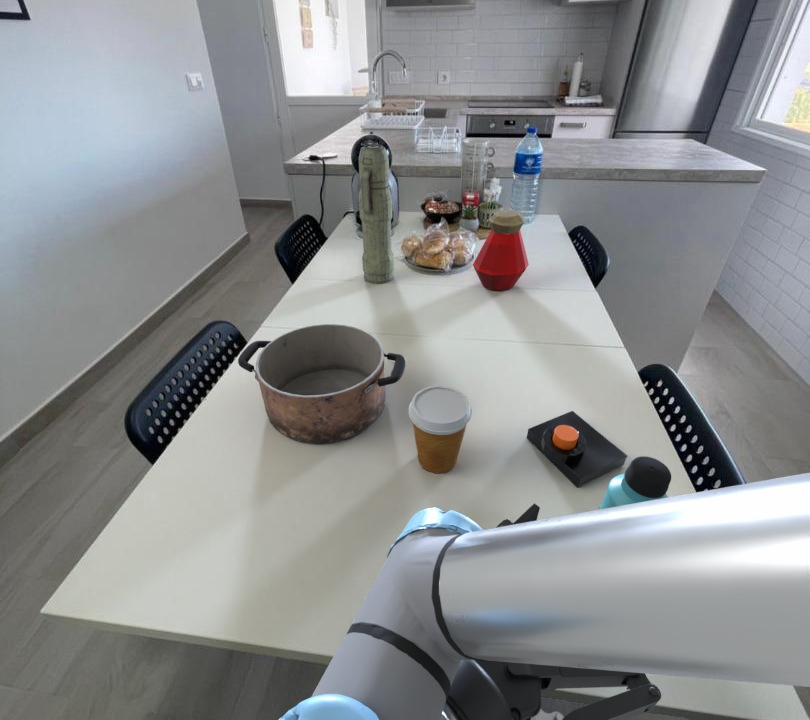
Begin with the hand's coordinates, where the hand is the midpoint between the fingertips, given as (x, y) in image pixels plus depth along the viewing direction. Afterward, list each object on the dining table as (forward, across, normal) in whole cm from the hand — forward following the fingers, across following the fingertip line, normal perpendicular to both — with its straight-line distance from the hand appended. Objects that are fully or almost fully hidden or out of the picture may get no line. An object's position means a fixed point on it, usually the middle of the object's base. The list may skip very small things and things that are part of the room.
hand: (590, 554), depth 46 cm
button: (+21, -14, -9) cm, 27 cm away
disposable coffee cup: (+6, -28, -13) cm, 31 cm away
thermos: (+42, -88, -13) cm, 99 cm away
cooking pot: (0, -52, -13) cm, 53 cm away
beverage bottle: (+8, 0, -13) cm, 15 cm away
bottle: (+64, -62, -13) cm, 90 cm away
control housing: (+24, -14, -13) cm, 30 cm away
